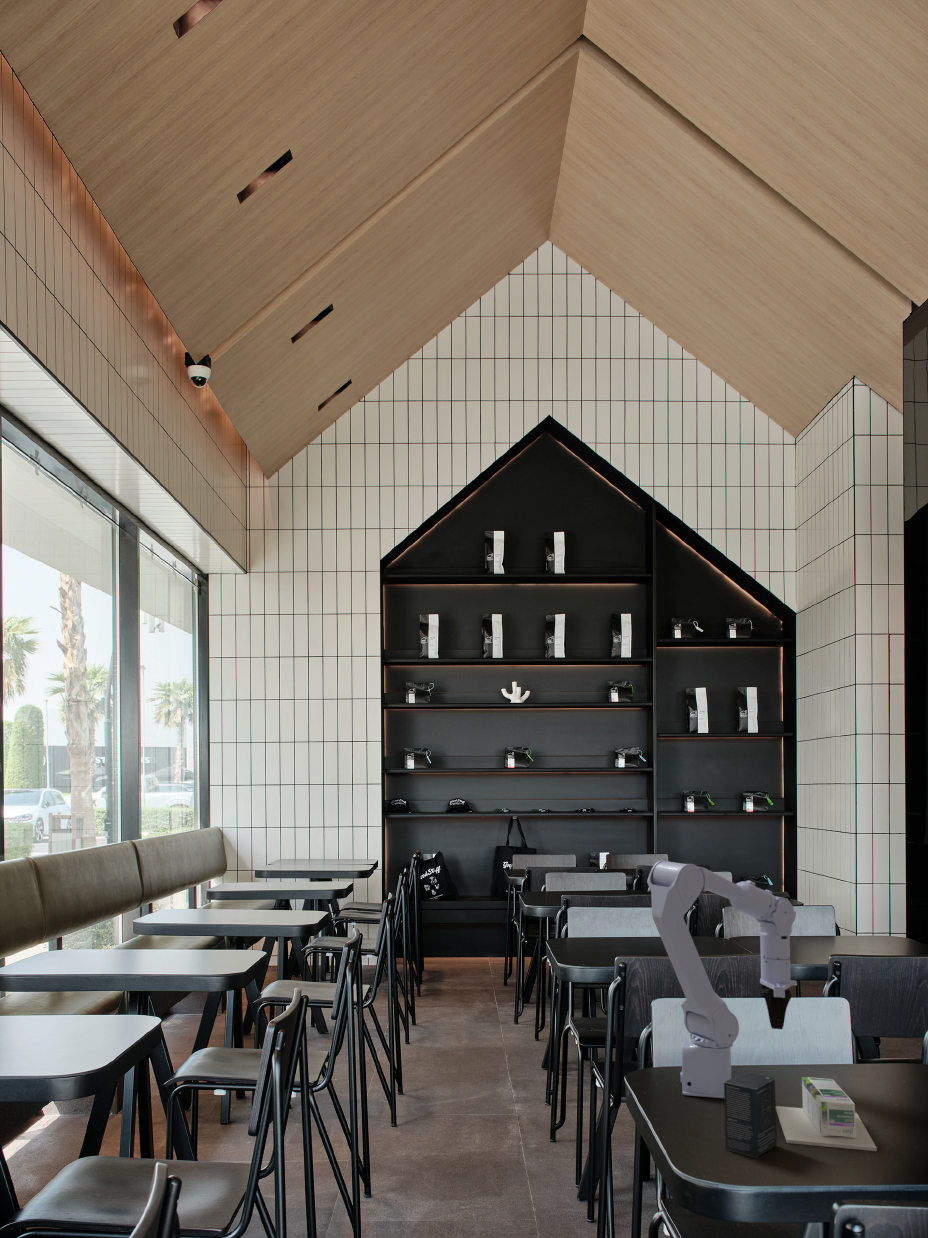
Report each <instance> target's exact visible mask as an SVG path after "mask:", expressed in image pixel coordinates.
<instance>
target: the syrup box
mask: <svg viewBox="0 0 928 1238" xmlns="http://www.w3.org/2000/svg"><path fill="white" fill-rule="evenodd" d="M801 1090H802V1091H801V1092H802V1095H801V1097H802V1108H803V1110H804V1112H805V1113H806V1114H807V1116H808V1117H809V1118H810V1120H811V1121H812V1123H813V1124H814V1125H815V1127H816V1128H817V1129H818V1131H819V1132H820V1134H821V1135H822V1136H830V1137H838V1138H854V1139H856V1120H855V1113H856V1104H855V1102H854V1101H853V1100H852V1099H851V1097H849V1095H848V1094H846V1092H845V1091H844V1090H843V1089H842V1088H841V1087H840V1086H839V1085H838V1083H836V1081H835V1080H834V1079H833V1078H823V1077H821V1078H820V1077H807V1076H806V1077H805V1076H804V1077H803V1076H801Z"/></svg>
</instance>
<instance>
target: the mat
mask: <svg viewBox="0 0 928 1238" xmlns="http://www.w3.org/2000/svg"><path fill="white" fill-rule="evenodd" d="M776 1116H777V1117H778V1120H779V1124H780V1126H781V1128H782V1133H783V1135H784V1138H785V1139H784V1140H785V1141H786V1144H795V1145H807V1146H817V1147H827V1148H835V1149H836V1148H837V1149H838V1148H840V1149H847V1150H848V1149H849V1150H859V1151H860V1150H861V1151H871V1152H878V1147H877V1146H876V1144H875V1142H874V1141H873V1139H872V1137H871V1135H870V1134H869V1132H868V1130H867V1129H866V1127H865V1125H864V1122H862V1120H861V1118H860V1116H859V1114H858V1113H857V1112H855V1120H856V1139H854V1138H838V1137H830V1136H822V1135H821V1134H820V1132H819V1131H818V1129H817V1128H816V1127H815V1125H814V1124H813V1123H812V1121H811V1120H810V1118H809V1117H808V1116H807V1114H806V1113H805V1112H804V1110H803V1107H793V1106H792V1107H791V1106H781V1105H776Z"/></svg>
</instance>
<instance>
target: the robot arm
mask: <svg viewBox="0 0 928 1238" xmlns="http://www.w3.org/2000/svg"><path fill="white" fill-rule="evenodd" d="M646 882H647V885H648V887H649V890H650V893H651V916H652V919H653V922H654V924H655V927H656V930H657V931H658V934H659V937H660V939H661V941H662V944H663V946H664V949H665V951H666V953H667V955H668V958H669V960H670V963H671V965H672V968H673V970H674V972H675V976H676V978H677V979H678V982H679V984H680V987H681V990H682V992H683V994H684V998H685V999H684V1000H683V1001H682V1003H681V1005H680V1007H681V1008H682V1011H683V1022H684V1023H683V1025H684V1027H685V1028H686V1031H687V1032H688V1033H689V1037H690V1040H691V1041H688V1040H687V1041H683V1040H682V1042H681V1071H680V1073H679V1074H680V1083H681V1084H682V1085H681V1086H682V1087H681V1088H682V1090H681V1091H682V1095H684V1096H691V1097H692V1096H693V1097H705V1098H716V1099H724V1082H725V1081H727V1080H729V1079H731V1078H732V1057H731V1056H732V1052H731V1049H732V1047H733V1046H734V1044H733V1043H734V1042H735V1041H736V1040H737V1038H738V1036H739V1031H740V1024H739V1021H738V1020H739V1019H738V1018H737V1016H736V1015H735V1014H734V1013H733V1012H732V1011H731V1010H730V1009H729V1008H728V1005H727V1003H726V1002H725V1001H724V999H722V998H721V997H720V996H719V995H718V994H717V993H716V991H714V989H713V986H712V984H711V982H710V979H709V976H708V974H707V972H706V970H705V967H704V964H703V962H702V960H701V958H700V957H701V956H700V955H699V953H698V949H697V947H696V945H695V943H694V940H693V938H692V936H691V933H690V930H689V928H688V926H687V923H686V921H685V919H684V918H685V914H686V913H688V911H689V910H690V908H691V907H692V905H694V903H695V901H696V900H697V898H698V897H699V896H700V894H701V892H707V891H708V892H710V893H713V894H716V895H718V896H721V897H723V898H726V899H728V900H729V903H730V905H731V907H732V908H733V909H735V910H737V911H739V912H741V913H744V914H746V915H748V916H750V917H753V918H754V919H755V921H757V922H758V923H759V941H760V942H759V943H760V949H759V950H760V978H759V984H761V985H762V986H765V987H767V988H768V989H767V988H762V989H760V991H761V994H762V996H763V998H764V1001H765V1004H766V1005H765V1006H766V1009H767V1013H768V1019H769V1025H770V1027H771V1029H772V1030H774V1029H775V1030H783V1029H784V1025H785V1018H786V1014H787V1013H786V1012H787V1008H788V1006H789V1003H790V1001H791V999H792V994H791V990H790V989H789V988H790V987H792V986H798V982H797V980H795V979H794V980H793V979H792V980H791V975H792V974H791V946H790V945H791V944H790V943H791V940H790V938H791V937H790V935H791V934H792V933H793V932H792V931H793V929H792V927H793V923H794V922H795V920H796V914H797V912H796V911H795V909H794V906H793V904H792V903H791V901H790V900H789V899H788V898H786V897H781V896H777V895H776V896H775V895H774V894H773V891H772V890H769V889H765V890H764V889H761V887H757V886H756V882H754V881H752V880H746V881H739V882H737V883H734V882H732V881H731V880H729V879H727V878H725V877H723V876H721V875H719V874H717V873H715V872H713V871H711V870H709V869H707V868H705V867H704V866H698V865H696V864H694V863H682V862H681V863H680V862H674V861H670V860H665V859H662V860H659V861H657V862H655V863H654V864H653V866H652V867H651V870H650V872H649V875H648V878H647V881H646Z"/></svg>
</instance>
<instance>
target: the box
mask: <svg viewBox="0 0 928 1238" xmlns="http://www.w3.org/2000/svg"><path fill="white" fill-rule="evenodd" d="M775 1082H776V1079H775V1077H772V1076H768V1075H761V1074H757V1073H753V1072H748V1071H744V1072H741V1073H740V1074H739V1073H738V1074H737V1075H736V1076H733V1077H731V1079H729V1080H727V1081H725V1082H724V1098H723V1099H724V1137H725V1138H724V1140H725V1141H724V1143H725V1149H726V1151H728V1152H733V1153H737V1154H741V1155H744V1156H747V1157H751V1158H755V1159H757V1158H759V1157H760V1156H762V1155H764V1154H765V1153H767V1152H769V1150H771V1149H772V1148H774V1147H776V1146H777V1145H778V1137H777V1135H778V1134H777V1132H778V1131H777V1112H776V1106H777V1105H776V1104H777V1103H776V1101H777V1100H776V1083H775Z"/></svg>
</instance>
